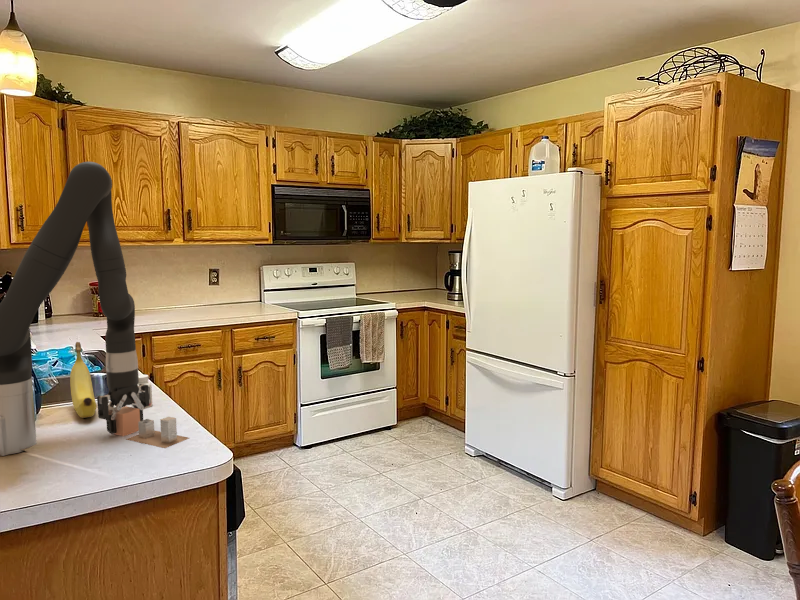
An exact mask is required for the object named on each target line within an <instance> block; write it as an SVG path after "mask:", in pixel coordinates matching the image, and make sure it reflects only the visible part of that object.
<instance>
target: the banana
mask: <svg viewBox="0 0 800 600" xmlns="http://www.w3.org/2000/svg"><path fill="white" fill-rule="evenodd" d="M74 346H75V349H74V350H75V352H76V359H75V361H74V363H73V365H72V368H71V370H70V376H69V379H70V381H69V382H70V383H69V385H70V395H71V396H70V397H71V400H72V401H71V402H72V406H73V409H74V410H75V412H76V414H77V416H78V417H80V418H83V419H84V418H85V419H86V418H90V417H93V416H94V415H95V413H96V410H97V408H98V404H97V402H96V398H95V394H94V389H93V387H94V386H93V383H92V377H91V373H90V370H89V368H88V366H87V365H86V363H85V362H84V361H83V359H82V355H81V351H82V346H81V342H80V341H76V342H75V345H74Z"/></svg>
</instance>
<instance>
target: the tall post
mask: <svg viewBox="0 0 800 600" xmlns="http://www.w3.org/2000/svg"><path fill="white" fill-rule="evenodd" d="M159 420H160V421H159V422H160V432H161V442H164V443H171V442H174V441H176V440H177V435H178V432H177V431H178V430H177V418H176V417H173V416H166V417H164V418H161V419H159Z"/></svg>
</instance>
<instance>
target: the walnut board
mask: <svg viewBox="0 0 800 600" xmlns="http://www.w3.org/2000/svg"><path fill="white" fill-rule="evenodd" d="M154 434H155V435H154V436H152V437H149V438H142V437H139V433H138V434H136V435H133V436H131V437H128V438H125V440H126V441H131V442H134V443H135V442H136V443H139V444H144V445H149V446H153V447H157V448H162V449H168V448H170V447H172V446H174V445H177V444H179V443H181V442H185V441H187V440H189V439H190V437H188V436H182V435H179V434H177V440H176V441H174V442H171V443H164V442H161V430H160V431H159V430H155V429H154Z"/></svg>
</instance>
